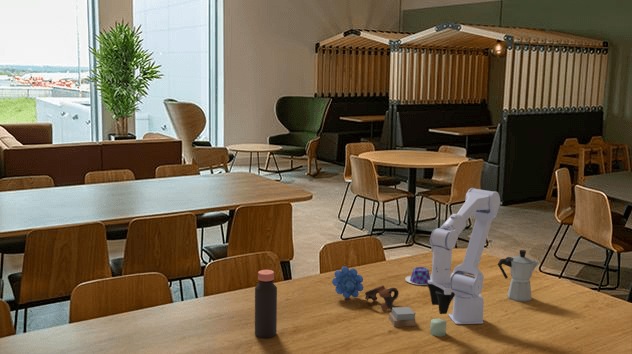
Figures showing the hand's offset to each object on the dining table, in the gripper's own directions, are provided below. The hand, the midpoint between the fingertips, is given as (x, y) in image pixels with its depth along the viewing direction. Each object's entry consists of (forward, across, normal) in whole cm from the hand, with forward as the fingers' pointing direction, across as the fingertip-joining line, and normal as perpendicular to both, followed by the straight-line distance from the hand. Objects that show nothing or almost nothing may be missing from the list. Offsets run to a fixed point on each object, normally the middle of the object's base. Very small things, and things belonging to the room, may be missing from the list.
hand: (439, 308), depth 205 cm
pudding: (+8, -50, +9) cm, 52 cm away
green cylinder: (+8, 0, 0) cm, 8 cm away
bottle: (+8, -4, -54) cm, 55 cm away
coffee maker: (+8, -29, +39) cm, 49 cm away
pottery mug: (+8, -25, -12) cm, 29 cm away
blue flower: (+8, -32, -23) cm, 40 cm away
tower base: (+9, -10, -9) cm, 16 cm away
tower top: (+6, -10, -9) cm, 15 cm away
